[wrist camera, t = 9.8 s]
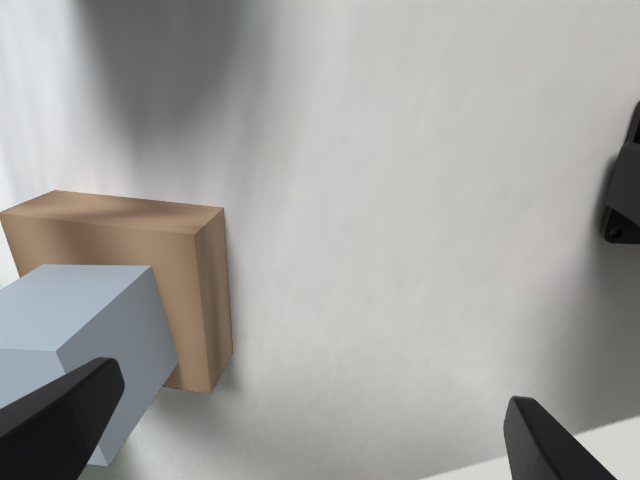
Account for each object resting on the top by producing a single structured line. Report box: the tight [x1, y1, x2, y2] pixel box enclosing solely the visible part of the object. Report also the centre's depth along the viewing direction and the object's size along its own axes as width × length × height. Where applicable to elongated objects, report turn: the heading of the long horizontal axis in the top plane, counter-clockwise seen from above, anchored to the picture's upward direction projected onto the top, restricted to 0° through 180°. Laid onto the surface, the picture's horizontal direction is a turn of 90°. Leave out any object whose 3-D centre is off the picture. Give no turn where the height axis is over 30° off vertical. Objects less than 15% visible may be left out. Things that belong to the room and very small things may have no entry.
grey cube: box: [0, 264, 179, 466], centre depth 17 cm, size 6×6×6 cm
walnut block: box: [0, 190, 233, 394], centre depth 22 cm, size 10×10×4 cm
